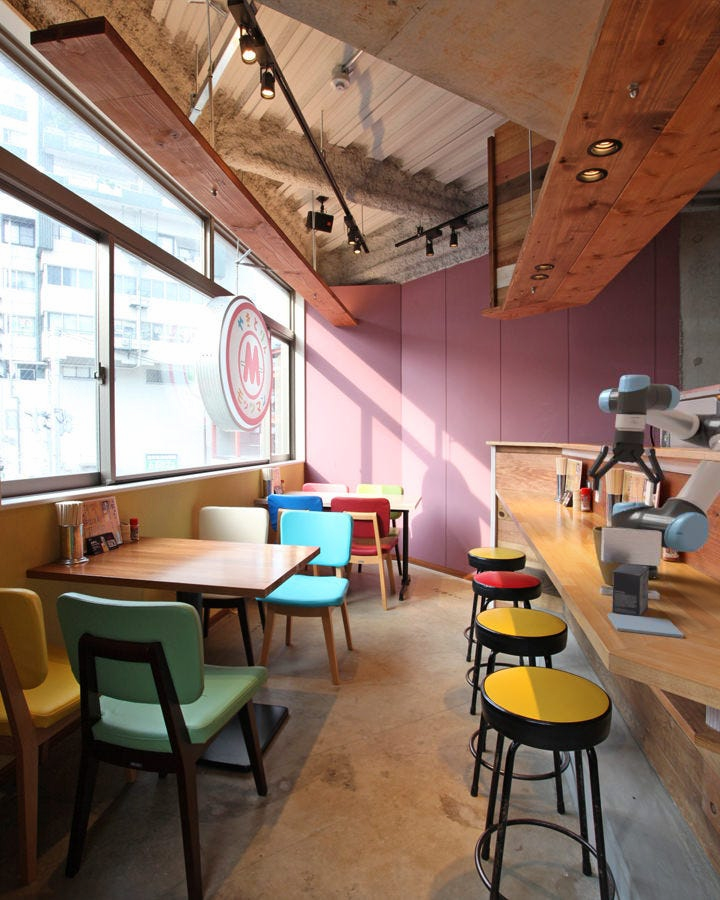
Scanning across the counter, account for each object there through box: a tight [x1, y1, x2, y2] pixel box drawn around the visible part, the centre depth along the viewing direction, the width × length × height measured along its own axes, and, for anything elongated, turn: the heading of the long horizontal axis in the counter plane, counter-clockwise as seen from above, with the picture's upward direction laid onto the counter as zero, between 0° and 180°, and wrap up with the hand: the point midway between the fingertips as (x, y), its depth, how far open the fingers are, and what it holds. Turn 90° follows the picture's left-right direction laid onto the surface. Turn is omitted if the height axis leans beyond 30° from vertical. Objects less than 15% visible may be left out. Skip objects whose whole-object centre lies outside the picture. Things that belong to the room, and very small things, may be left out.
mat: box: [606, 612, 685, 639], centre depth 113 cm, size 10×13×1 cm
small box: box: [611, 564, 649, 617], centre depth 124 cm, size 11×6×10 cm, turn 141°
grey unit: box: [599, 527, 662, 601], centre depth 136 cm, size 4×14×18 cm, turn 75°
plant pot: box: [592, 525, 642, 586], centre depth 147 cm, size 15×15×16 cm
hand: (622, 503), depth 143 cm, fingers open, 13 cm apart
